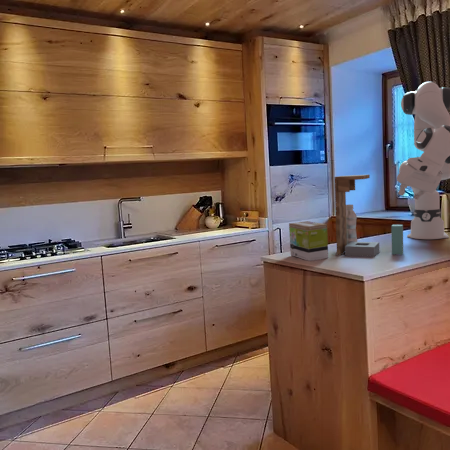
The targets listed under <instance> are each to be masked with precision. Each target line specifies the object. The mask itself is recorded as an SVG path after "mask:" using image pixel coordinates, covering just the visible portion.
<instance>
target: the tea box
mask: <svg viewBox="0 0 450 450" xmlns="http://www.w3.org/2000/svg"><path fill="white" fill-rule="evenodd" d="M288 227H289V228H288V229H289V231H288V232H289V246H290V247H289V248H290V249H289V250H290V256H291V257H296V258H299V259H302V260H305V261H308V262H311V261H313V262H314V261H319V260H325V259H328V258H329V244H328V243H329V241H328V240H329V239H328V223H321V222H316V221H311V220H305V221H299V222H298V221H297V222H291V223H288Z"/></svg>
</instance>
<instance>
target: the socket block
mask: <svg viewBox="0 0 450 450" xmlns="http://www.w3.org/2000/svg"><path fill="white" fill-rule="evenodd" d="M380 251H381V250H380V242H379V241H358V242H350V243H349V244H347V245H346V246H345V252H344V256H351V257H372V256H374V257H376V255H378V254H379V253H380Z"/></svg>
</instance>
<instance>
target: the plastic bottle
mask: <svg viewBox="0 0 450 450" xmlns="http://www.w3.org/2000/svg"><path fill="white" fill-rule="evenodd" d="M357 217H358V216H357V214H356V212H355V211H354V204H346V226H347V244H349V243H350V242H359V241H358V238H357V229H356V227H357Z"/></svg>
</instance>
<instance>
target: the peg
mask: <svg viewBox="0 0 450 450" xmlns="http://www.w3.org/2000/svg"><path fill="white" fill-rule="evenodd" d="M390 231H391V232H390V233H391V255H395V254H400V256H402V255H403V254H404V225H403V224H392V225H391V228H390Z"/></svg>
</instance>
